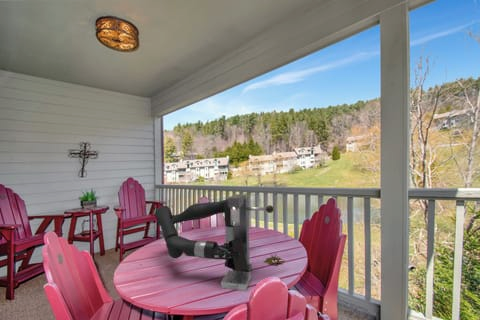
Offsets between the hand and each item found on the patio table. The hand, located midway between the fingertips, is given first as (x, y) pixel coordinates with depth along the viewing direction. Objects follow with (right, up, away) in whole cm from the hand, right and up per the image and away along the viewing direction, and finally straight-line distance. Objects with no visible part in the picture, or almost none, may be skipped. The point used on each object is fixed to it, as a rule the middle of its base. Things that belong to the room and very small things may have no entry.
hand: (240, 252), depth 98 cm
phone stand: (-2, -7, 0) cm, 7 cm away
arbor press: (+4, -14, +3) cm, 15 cm away
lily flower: (+18, -15, +22) cm, 32 cm away
